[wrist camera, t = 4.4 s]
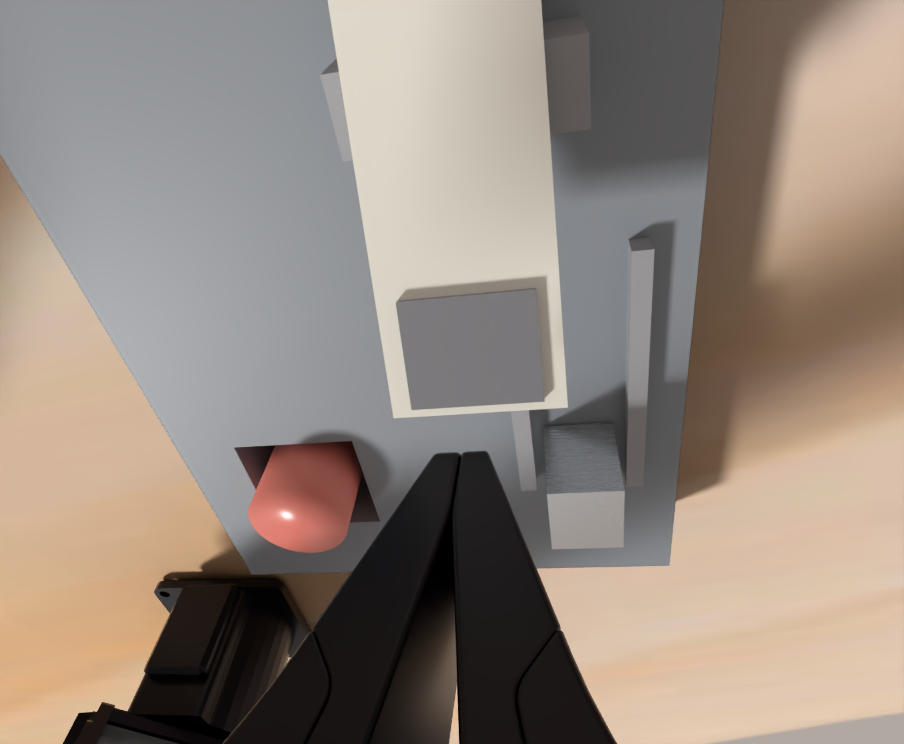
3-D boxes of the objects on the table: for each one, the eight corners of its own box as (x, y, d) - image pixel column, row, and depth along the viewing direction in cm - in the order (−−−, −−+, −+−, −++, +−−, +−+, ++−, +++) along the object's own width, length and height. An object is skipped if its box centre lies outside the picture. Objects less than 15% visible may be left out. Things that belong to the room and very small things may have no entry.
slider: (612, 478, 20) (623, 547, 18) (548, 480, 20) (552, 549, 18) (612, 422, 18) (624, 491, 16) (543, 426, 18) (546, 494, 16)
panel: (656, 510, 24) (678, 609, 21) (271, 523, 27) (236, 613, 23) (714, -305, 11) (800, -385, 8) (-67, -123, 13) (-256, -124, 10)
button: (378, 462, 24) (357, 551, 21) (299, 467, 24) (267, 553, 21) (358, 399, 22) (331, 487, 19) (272, 405, 22) (232, 491, 19)
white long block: (564, 381, 12) (568, 410, 11) (408, 392, 13) (391, 422, 11) (523, -244, 9) (520, -319, 8) (320, -199, 10) (283, -260, 8)
